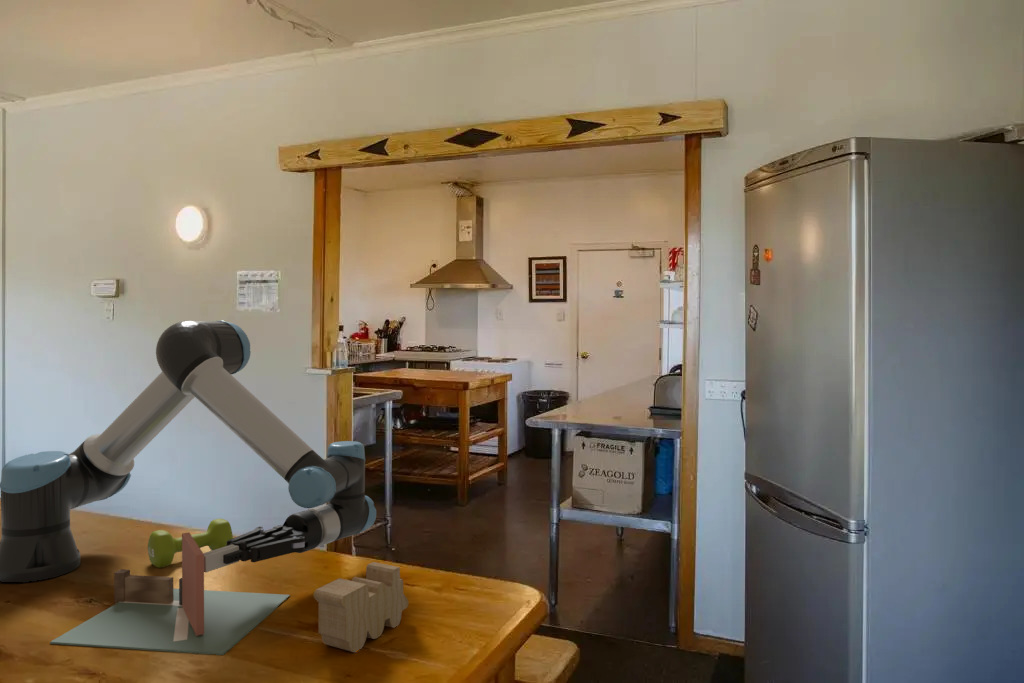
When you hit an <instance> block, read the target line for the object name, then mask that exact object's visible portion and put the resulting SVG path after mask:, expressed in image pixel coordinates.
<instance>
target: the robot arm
mask: <svg viewBox="0 0 1024 683" xmlns="http://www.w3.org/2000/svg"><path fill="white" fill-rule="evenodd" d="M250 342H251V341H250V340H249V337H248V335H247V333H246V332H245V331H244V329H243V328H242V327H241V326H239V325H237V324H235V323H233V322H229V321H225V320H201V321H200V320H198V321H197V320H184V321H179V322H176V323H173V324H172V325H170V326H169V327H167V328H166V329H165V330H164V331H163V332H162V333H161V335H160V336H159V337H158V340H157V342H156V347H155V356H156V361H157V364H158V366H159V369H160V370H161V372H160V374H158V375H157V376H156V377H155V379H153V380H152V381H151V382H150V384H149V385H147V387H146V388H145V389H144V390H143V391H142V392H141V393H140V394H139V395H138V396H137V397H136V398H135V399H134V400H133V401H132V402H131V403H130V404H129V405H127V407H126V408H125V409H124V410H123V411H122V412H121V413H120V414H119V416H117V417H116V419H115V420H113V421H112V423H110V425H108V426H107V427H106V429H105V430H103V432H102V433H100V434H99V433H98V434H97V433H96V434H91V435H90V436H88V437H87V438H86V439H84V441H83V442H82V443H80V445H79V446H78V447H77V448H76V449H75V450H73V452H70V453H67V452H65V451H60V450H52V451H51V450H50V451H49V450H48V451H40V452H37V453H29V454H25V455H21V456H17V457H16V458H13V459H11V460H9V461H8V462H6V463H5V465H3V467H2V469H1V477H0V478H1V479H0V510H1V511H0V513H1V515H0V518H1V520H0V522H1V538H0V581H1V582H23V583H30V582H29V581H32V582H38V581H37V580H39V581H43V579H44V580H47V579H48V578H49V579H51V578H56V577H60V576H63V575H65V574H68V573H70V572H72V571H74V570H76V569H77V568H79V567H80V565H81V552H80V549H79V548H78V547H77V544H76V540H75V537H74V534H73V532H72V529H71V510H73V509H77V508H79V507H82V506H85V505H89V504H91V503H94V502H97V501H98V502H100V501H103V500H106V499H108V498H111V497H113V496H114V495H116V494H118V493H120V492H121V491H123V490H124V488H125V487H126V486H127V485H128V483H129V481H130V480H131V477H132V474H131V472H132V470H133V469H134V467H135V458H136V457H137V456H138V455H139V454H140V453H141V452H142V451H143V450H144V449H145V448H146V447H147V446H148V445H149V444H150V443H151V442H152V441H153V440H154V439H155V438H156V437H157V435H158V434H160V433H161V432H162V430H163V429H165V428H166V426H168V424H169V423H171V421H172V420H174V418H176V417H177V415H179V414H180V412H181V411H183V410H184V409H185V408H186V407H187V405H188V404H190V403H191V401H192V400H193V399H194V398H195V399H196V400H198V402H199V403H201V404H202V405H203V406H204V407H205V408H206V409H207V410H208V411H209V412H211V413H212V414H213V415H214V416H215V417H216V418H218V420H219V421H221V422H222V423H223V425H225V426H226V427H227V428H228V429H229V430H231V432H233V433H234V435H236V436H237V437H238V438H239V439H240V440H241V441H242V442H243V443H245V445H246V446H247V447H249V448H250V449H251V450H252V451H253V452H254V453H255V454H257V456H258V457H260V458H261V459H262V460H263V461H264V462H265V463H266V464H267V465H269V466H270V468H272V469H273V470H274V471H275V473H277V474H278V475H279V476H280V477H282V478H283V479H284V480H285V482H286V483H288V487H287V488H288V493H289V497H290V499H291V500H292V501H293V503H294V504H295V505H297V506H298V507H301V508H304V509H307V510H302V511H299V512H295V513H292V514H291V515H289V516H287V518H286V519H285V521H284V523H283V524H280V525H276V526H273V527H272V528H270V529H266V530H264V527H263V526H257V527H255V528H254V529H253V530H251V531H248V532H245V533H243V534H240V535H238V536H236V537H233V539H230V540H228V541H227V546H225V547H222V548H219V549H216V550H210V551H209V550H208V551H207V552H206V551H205V552H203V554H204V574H205V573H209V572H212V571H215V570H218V569H221V568H224V567H227V566H230V565H234V564H236V563H239V562H240V561H241V562H248V561H250V562H251V563H256V562H261V561H265V560H269V559H274V558H277V557H280V556H281V557H282V556H284V555H290V554H294V553H295V554H296V553H297V554H302V553H305V552H308V551H311V550H314V549H316V548H324V547H325V545H327V544H331V543H333V542H336V541H338V540H341V539H344V538H348V537H351V536H355V535H358V534H360V533H362V532H364V531H366V530H368V529H370V528H371V527H372V526H373V525H374V523H375V521H376V519H377V509H376V507H375V503H374V500H372V498H370V497H369V496H368V495H366V494H365V492H366V491H365V490H366V484H365V482H366V475H365V474H366V455H365V454H366V452H365V446H364V444H363V443H361V442H360V441H356V440H355V441H352V440H343V441H341V440H340V441H334V442H332V443H330V444H329V445H328V447H327V454H326V457H327V458H322V456H320V455H319V454H318V453H317V452H316V451H315V450H313V448H312V447H310V446H309V445H308V444H307V443H306V442H305V441H304V440H303V439H302V438H300V436H299V435H297V434H296V433H295V432H294V431H293V430H292V429H291V428H290V427H289V426H288V425H287V424H286V423H284V422H283V421H282V420H281V419H280V418H279V417H278V416H277V415H276V414H274V412H273V411H271V410H270V409H269V408H268V407H267V406H266V405H265V404H263V402H261V401H260V400H259V399H258V398H257V397H256V396H255V395H254V394H253V393H252V392H250V390H248V389H247V388H246V387H245V386H244V385H243V384H242V383H241V382H240V381H239V380H237V378H235V377H234V376H233V375H235V374H237V373H239V372H240V371H242V370H243V369H244V368H245V367H246V366H247V364H248V363H249V360H250V357H251V343H250ZM1 582H0V583H1Z"/></svg>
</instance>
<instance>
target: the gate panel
mask: <svg viewBox="0 0 1024 683" xmlns="http://www.w3.org/2000/svg"><path fill="white" fill-rule="evenodd" d="M191 535H192V534H191V533H190V532H184V533H181V537H182V552H181V578H182V607H183V609H184V611H185V613H186V615H187V617H188V620H189V622H190V624H191V626H192V628H193V630H194V632H195V634H196V636H198V635H202V634H204V590H205V572H204V554H203V553H204V552H203V551H202V549H201V548H199V546H198V545H197V543H196V542H195V540H194V539H193V537H192V536H191Z"/></svg>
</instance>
